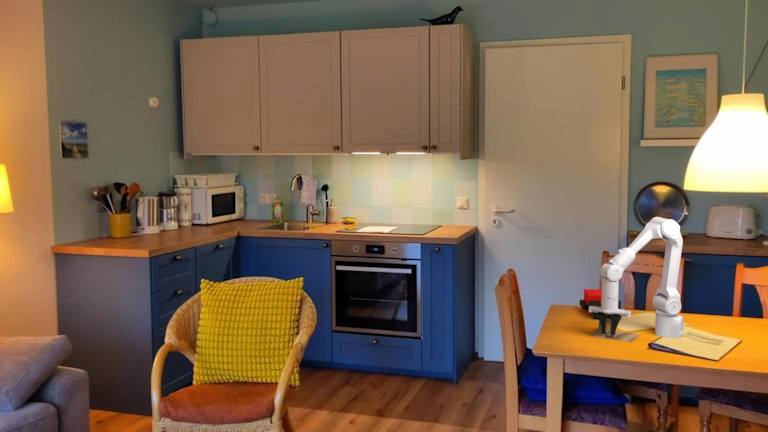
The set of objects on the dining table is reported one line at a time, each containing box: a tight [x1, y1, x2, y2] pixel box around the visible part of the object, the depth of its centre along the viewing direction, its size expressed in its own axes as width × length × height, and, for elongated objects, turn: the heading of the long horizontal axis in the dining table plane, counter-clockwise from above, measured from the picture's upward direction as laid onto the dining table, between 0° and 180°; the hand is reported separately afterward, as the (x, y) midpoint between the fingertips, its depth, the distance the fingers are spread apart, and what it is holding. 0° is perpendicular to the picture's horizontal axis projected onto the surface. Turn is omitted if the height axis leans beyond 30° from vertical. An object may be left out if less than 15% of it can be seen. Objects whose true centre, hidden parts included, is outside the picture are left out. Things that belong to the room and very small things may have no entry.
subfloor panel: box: [589, 329, 641, 343], centre depth 259 cm, size 15×12×1 cm
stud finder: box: [597, 322, 603, 334], centre depth 262 cm, size 4×6×4 cm, turn 145°
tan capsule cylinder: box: [604, 319, 613, 339], centre depth 255 cm, size 3×3×6 cm
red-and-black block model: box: [579, 288, 622, 319], centre depth 292 cm, size 15×8×25 cm
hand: (608, 334), depth 256 cm, fingers closed on tan capsule cylinder, 3 cm apart
